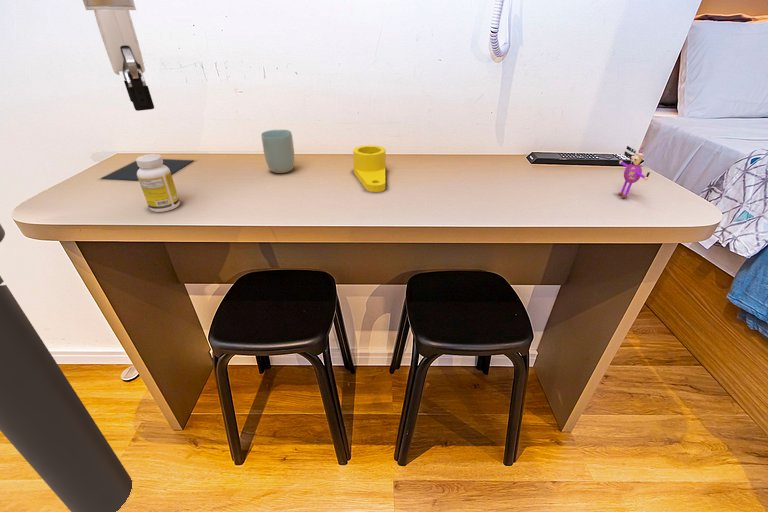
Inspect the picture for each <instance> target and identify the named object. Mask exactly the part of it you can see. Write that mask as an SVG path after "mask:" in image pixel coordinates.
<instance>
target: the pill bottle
mask: <svg viewBox="0 0 768 512" xmlns="http://www.w3.org/2000/svg"><path fill="white" fill-rule="evenodd" d="M135 161H136V162H137V165H138V167H140V169H139V170H138V171H137V177H138V180H139V181H138V180H137V181H138V183H139V185H140V188H141V190H142V193H143V196H144V198H145V201H146V205H147V207H148V209H149V210H150V211H152V212H156V213H162V212H169V211H171V210H175V209H177V207H179V206H180V197H179V195H178V192H177V188H176V185H175V182H174V179H173V176H172V175H173V174H172V175H171V172H170V170H169V168H168V167H167V166H165V165H163V157H162V154H158V153H150V154H149V153H148V154H145V155H141V156H138V157H136V159H135Z"/></svg>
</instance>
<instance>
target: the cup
mask: <svg viewBox="0 0 768 512" xmlns="http://www.w3.org/2000/svg"><path fill="white" fill-rule="evenodd" d="M260 137H261V145H262V150H263V155H264V158H265V164H266V165H267V167H268V169H269V170H270V171H271V172H272V173H275V174H285V173H289V172H291V171H292V170H293V168H294V166H295V161H296V160H295V147H294V137H293V133H292V131H291V130H288V129H271V130H270V129H269V130H266V131H263V132H261V135H260Z"/></svg>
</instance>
